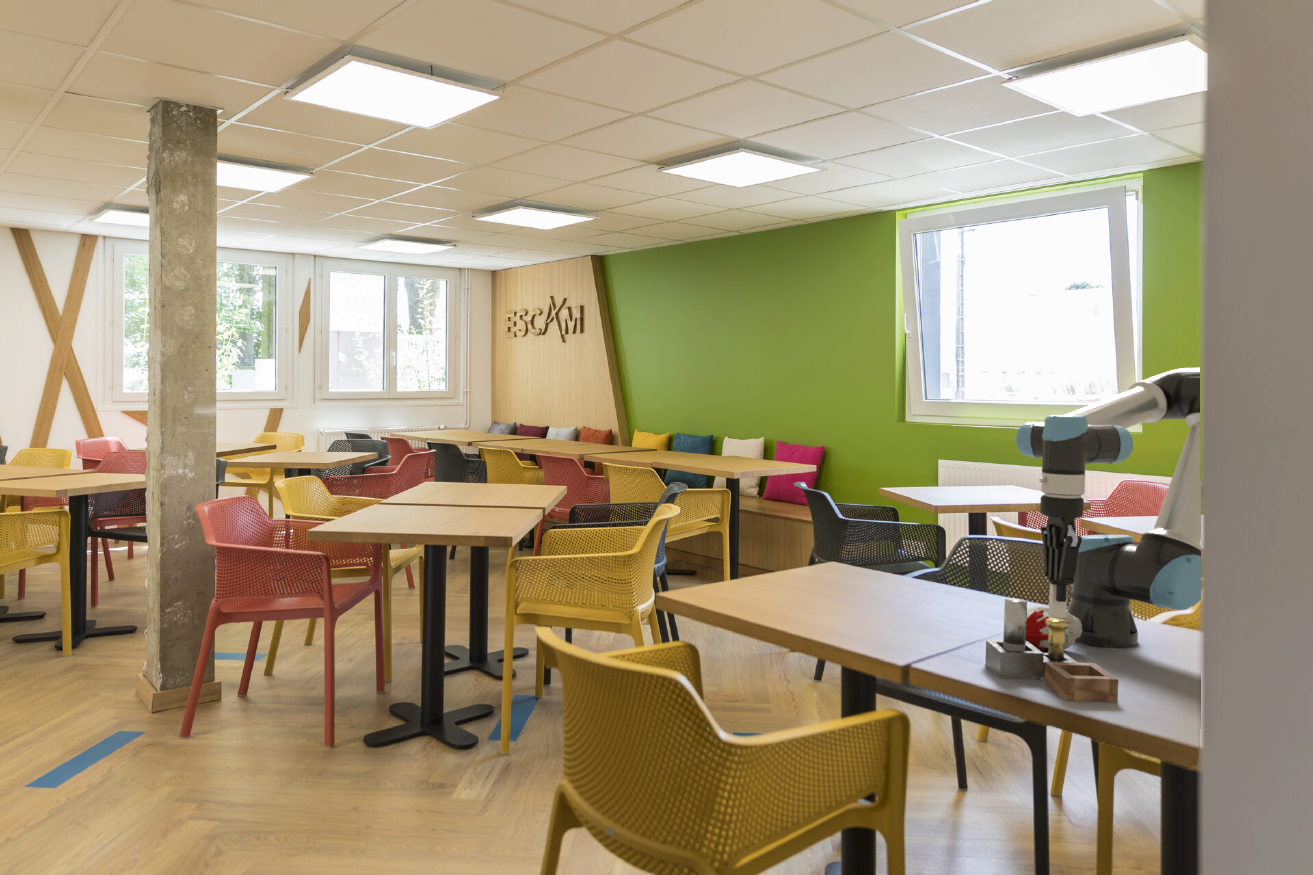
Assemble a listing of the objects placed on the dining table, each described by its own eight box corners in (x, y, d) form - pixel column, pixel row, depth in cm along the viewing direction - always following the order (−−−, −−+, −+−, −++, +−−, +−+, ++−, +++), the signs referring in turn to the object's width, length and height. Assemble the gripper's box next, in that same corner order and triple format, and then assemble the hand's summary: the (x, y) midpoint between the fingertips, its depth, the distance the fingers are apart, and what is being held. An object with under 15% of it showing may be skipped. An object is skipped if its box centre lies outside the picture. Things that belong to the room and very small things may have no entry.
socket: (1061, 666, 169) (1063, 641, 169) (1080, 680, 161) (1081, 654, 161) (985, 664, 170) (986, 639, 169) (999, 678, 162) (1000, 652, 161)
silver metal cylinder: (1019, 668, 167) (1022, 598, 167) (1027, 675, 163) (1030, 603, 163) (999, 668, 167) (1001, 598, 167) (1006, 675, 163) (1009, 603, 163)
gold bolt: (1061, 653, 167) (1063, 618, 166) (1070, 660, 163) (1072, 624, 162) (1041, 653, 167) (1042, 618, 167) (1049, 659, 163) (1051, 623, 163)
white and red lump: (1085, 648, 180) (1037, 666, 173) (1039, 634, 190) (992, 650, 183) (1084, 607, 178) (1035, 624, 172) (1038, 595, 188) (990, 610, 182)
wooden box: (1093, 684, 159) (1094, 663, 159) (1117, 701, 150) (1118, 679, 150) (1044, 682, 159) (1045, 661, 159) (1065, 700, 150) (1066, 677, 150)
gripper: (1028, 491, 170) (1024, 607, 171) (1056, 499, 157) (1051, 625, 158) (1067, 491, 169) (1062, 608, 171) (1098, 500, 156) (1092, 626, 158)
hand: (1057, 616), depth 164 cm, fingers closed
